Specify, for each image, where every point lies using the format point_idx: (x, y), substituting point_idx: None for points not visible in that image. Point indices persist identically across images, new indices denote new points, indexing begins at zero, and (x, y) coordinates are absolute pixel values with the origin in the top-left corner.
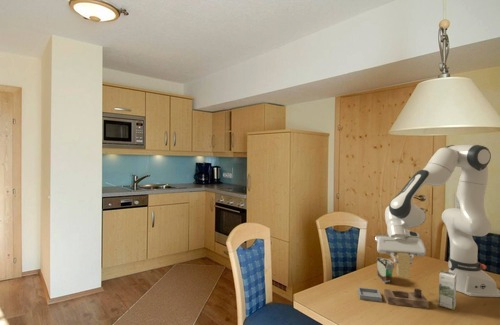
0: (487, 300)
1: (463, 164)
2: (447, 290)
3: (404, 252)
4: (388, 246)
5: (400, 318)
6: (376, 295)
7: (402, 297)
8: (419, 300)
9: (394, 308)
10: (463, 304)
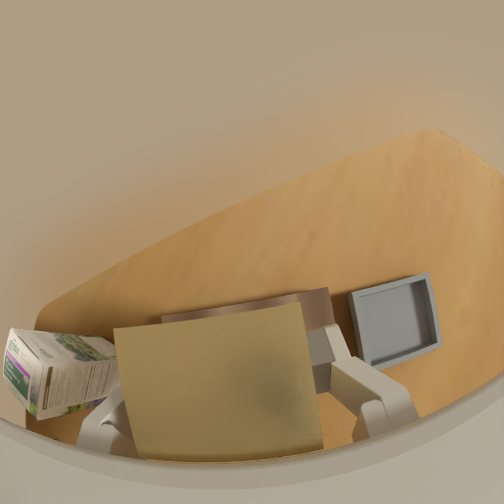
0: (35, 420)
1: None
2: (71, 343)
3: (182, 465)
4: (484, 467)
5: (279, 196)
6: (369, 336)
7: None
8: (193, 314)
9: (298, 262)
10: None
